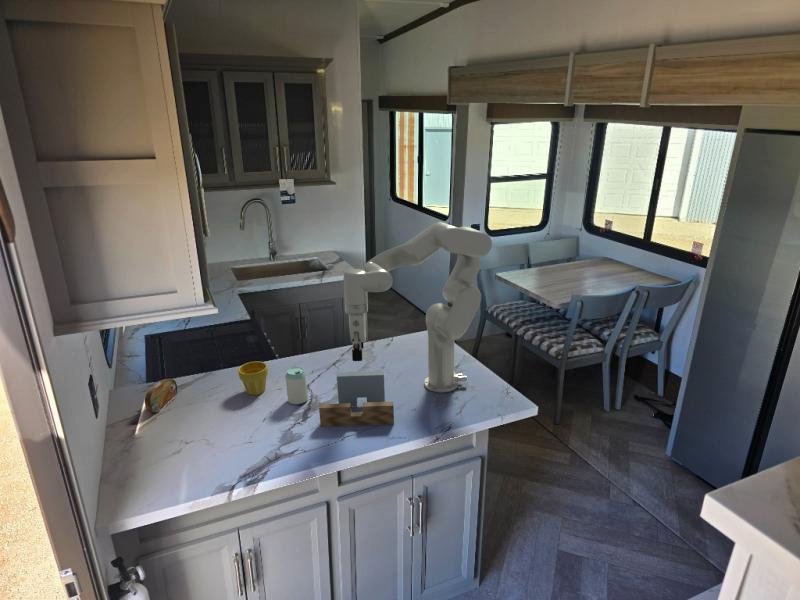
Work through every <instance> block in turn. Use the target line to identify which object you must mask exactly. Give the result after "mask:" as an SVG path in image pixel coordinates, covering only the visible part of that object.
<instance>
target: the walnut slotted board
mask: <svg viewBox="0 0 800 600" xmlns="http://www.w3.org/2000/svg"><path fill="white" fill-rule="evenodd" d="M318 410H319V411H318V412H319V420H320V422H319V423H320V427H321V428H323V427H328V428H329V427H349V426H350V427H351V426H352V427H353V426H380V425H381V426H383V425H384V426H385V425H395V415H394V401H385V402H367V401H366V402H362V411H353V412H352V407H351V403H339V402H338V403H319V407H318Z"/></svg>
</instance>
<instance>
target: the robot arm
mask: <svg viewBox="0 0 800 600" xmlns="http://www.w3.org/2000/svg"><path fill="white" fill-rule="evenodd" d="M492 242H493V240H492V239H491V237H490V235H489V234H488V233H486V232H483V231H481V230H479V229H478V230H477V229H476V228H473V227H470V226H459V227H457V226H454V225H451V224H448V223H446V222H442V221H438V222H434V223H433V224H431V225H429V226H428V227H426V229H424V230H422V231H421V232H420V233H418V234H417V235H415V236H414V237H412V238H410V239H409V240H408V241H406V242H404V243H403V244H400V245H397V246H394V247H391V248H389V249H387V250H386V249H385V250H384V251H382V252H380V253H379V254H377V255H375V256H374V257H372V258H371V259H370V260H368V261H367V262H366V263H365V264H363V266H362V267H361V269H360V268H351V269H347V270H345V272H344V273H343V291H344V292H343V294H344V295H343V296H344V313H345V314H347V315H348V326H349V337H350V343H352V349H351V357H352V362H362V361H363V349H364V344H365V343H366V339H367V323H366V321H367V319H366V313H368V311H369V304H368V303H369V301H368V299H369V298H368V297H369V295H368V293H382V292H386V291H388V290H389V289H391V288H392V285H393V284H394V281H393V280H394V279H393V276H392V274H391V273H390V271H392V270H395V269H398V268H401V267H402V268H403V267H415V266H419V265H421V264H422V263H423V262H425V261H427V260H428V259H429V258H431V257H432V256H434V255H435V254H436V253H437V252H439V251H441V250H443V251H445V252H448V253H451V254H455V255H457V256H456V257H457V258H456V259H457V260H456V262H455V265H454V267H453V269H452V271H451V272H450V274H449V277H448V279H447V280H446V282H445V283H444V286H443V289H442V296H443V298H444V300H445V301H446V302H448V303H449V304H451V305H452V306H451V307H450V306H449V305H447V304H445V303H441V302H440V303H439V302H438V303H434V304H432V305H431V306H429V307H428V309H427V311H426V314H425V324H426V330H427V343H428V345H427V349H428V350H427V351H428V353H427V355H428V356H427V357H428V360H427V363H428V365H427V366H428V367H427V369H428V376H427V377H426V378H425V379H424V381H423V383H424V387H425V388H426V389H427V390H428V391H431V392H434V393H440V394H441V393H449V392H453V391H454V390H456V389H457V388H458V386H459V382H467V381H468V378H467V377H468V376H467V375H463V373H456V372H455V346H456V345H455V344H456V343H455V341H456V340H458V339H460V338H461V337H463V335H464V334H465V333H466V332H467V330H468V329H469V327H470V325H471V322H472V321H473V319H474V317H475V316H476V314H477V311H478V310H479V308H480V306H481V302H482V301H481V300H482V293H481V291H480V289H479V287H477V286H476V285H475V284H474V282H475V280H476V279H477V275H478V274H479V271H480V267H481V258H482V257H485V256H487V255H488V254H489V253H490V251H492V248H493V247H492V246H493V243H492Z"/></svg>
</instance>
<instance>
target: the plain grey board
mask: <svg viewBox="0 0 800 600" xmlns="http://www.w3.org/2000/svg"><path fill="white" fill-rule="evenodd" d="M336 382H337V383H336V384H337V397H338V399H337V400H338V403H351V408H353V407H358V399H360V398H361V399H362V398H364V399H365V398H366V402H386V397H385V396H386V395H385V392H386V390H385V371H384V370H373V371H370V370H369V371H368V370H367V371H343V372H342V371H340V372H337V373H336Z"/></svg>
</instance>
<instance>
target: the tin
mask: <svg viewBox="0 0 800 600" xmlns="http://www.w3.org/2000/svg"><path fill="white" fill-rule="evenodd" d="M177 395H178V384H177V381H176V380H175V379H173V378H163V379H162V380H160V381H159V382H157V384H155V385H154V386H153V387H151V389H149V390H148V391H147V392H146V394H145V396H144V405H145V408H146V410H147V411H148V412H150V413H160V412H161V411H162V410H161V409H162V408H163V407H164V406H165V405H166V404H167V403H168V401H170V400H171V399H172V398H173V397H175V396H177ZM175 398H176V397H175ZM160 410H161V411H160ZM159 411H160V412H159Z"/></svg>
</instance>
